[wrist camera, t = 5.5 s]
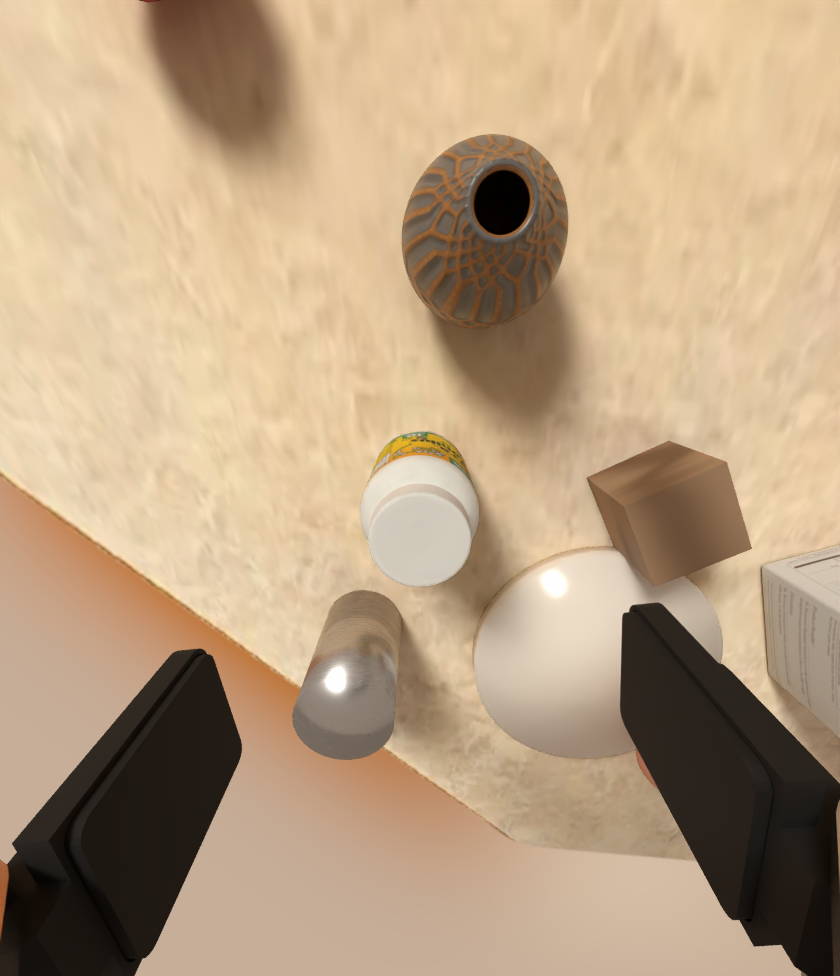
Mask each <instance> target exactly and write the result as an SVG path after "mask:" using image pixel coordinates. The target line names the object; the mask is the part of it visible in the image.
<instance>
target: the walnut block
mask: <svg viewBox="0 0 840 976" xmlns="http://www.w3.org/2000/svg"><path fill="white" fill-rule="evenodd" d="M587 480H588V482H589V485H590V487H591V490H592V492H593V495H594V497H595V500H596V502H597V505H598V507H599V510H600V513H601V515H602V518H603V520H604V523H605V525H606V528H607V530H608V533H609V535H610V538H611V540H612V543H613V545H614V547H615V548H616V549H617V550H618V551H619V552H620V553H621V554H622V555H623V556H624V557H625V558H626V559H627V560H628V561H629V562H630V563H631V564H632V565H633V566H634V567H635V568H636V569H637V570H638V571H639V572H640V573H641V574H642V575H643V576H644V577H645V578H646V579H647V580H648V581H649V583H650V584H651V585H652V586H653V587H657V586H659V585H662V584H664V583H667V582H669V581H672V580H674V579H677V578H679V577H682V576H684V575H687V574H690V573H692V572H695V571H697V570H700V569H702V568H705V567H707V566H710V565H712V564H715V563H717V562H720V561H722V560H725V559H727V558H730V557H732V556H735V555H737V554H740V553H742V552H745V551H747V550H750V549H752V548H751V544H750V541H749V537H748V534H747V530H746V527H745V523H744V520H743V517H742V513H741V510H740V506H739V503H738V499H737V496H736V492H735V489H734V486H733V482H732V479H731V475H730V472H729V468H728V465H727V462H725V461H723V460H720V459H717V458H714V457H712V456H709V455H706V454H703V453H701V452H698V451H695V450H692V449H690V448H687V447H684V446H681V445H679V444H676V443H673V442H670V441H667V442H665V443H663V444H661V445H658V446H656V447H654V448H652V449H650V450H647V451H645V452H643V453H641V454H638V455H636V456H634V457H632V458H630V459H627V460H625V461H623V462H621V463H618V464H616V465H614V466H612V467H610V468H607V469H605V470H603V471H601V472H598V473H596V474H594V475H592V476H589V477H587Z"/></svg>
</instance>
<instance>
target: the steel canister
mask: <svg viewBox="0 0 840 976" xmlns="http://www.w3.org/2000/svg"><path fill="white" fill-rule="evenodd" d="M401 626H402V622H401V616H400V613H399V611H398V609H397V607H396V606H395V605H394V603H393V602H392V601H391V600H389V599H388V598H387V597H385V596H383V595H381V594H379V593H376V592H372V591H365V590H362V591H354V592H350V593H347V594H345V595H343V596H342V597H340V598H339V599H338V600H337V601H336V602H335V603H334V604H333V605H332V607H331V609H330V611H329V614H328V617H327V619H326V622H325V625H324V627H323V630H322V633H321V636H320V638H319V641H318V644H317V647H316V649H315V652H314V655H313V657H312V660H311V663H310V666H309V668H308V671H307V674H306V677H305V679H304V682H303V685H302V687H301V690H300V693H299V696H298V698H297V701H296V704H295V707H294V710H293V725H294V728H295V731H296V733H297V735H298V736H299V738H300V739H301V740H302V741H303V743H304V744H306V745H307V746H308V747H309V748H310V749H312V750H313V751H315V752H317V753H319V754H321V755H324V756H327V757H330V758H334V759H342V760H351V759H358V758H363V757H366V756H369V755H371V754H373V753H375V752H376V751H378V750H379V749H380V748H382V747H383V746H384V745H385V744H386V742H387V741H388V740H389V738H390V736H391V734H392V731H393V726H394V714H395V702H396V689H397V676H398V664H399V651H400V638H401Z"/></svg>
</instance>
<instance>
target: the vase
mask: <svg viewBox="0 0 840 976" xmlns="http://www.w3.org/2000/svg"><path fill="white" fill-rule="evenodd" d="M567 235H568V210H567V203H566V198H565V194H564V190H563V187H562V185H561V182H560V180H559V178H558V176H557V174H556V172H555V170H554V169H553V167H552V166H551V165H550V163H549V162H548V161H547V160H546V158H545V157H544V156H543V155H542V154H541V153H540V152H539V151H537V150H536V149H535V148H533V147H532V146H530V145H529V144H527V143H525V142H523V141H521V140H519V139H516V138H513V137H510V136H505V135H497V134H489V135H481V136H476V137H472V138H469V139H466V140H464V141H462V142H459V143H457V144H455V145H454V146H452V147H450V148H449V149H448V150H446V151H445V152H443V153H442V154H441V155H440V156H439V157H438V158H437V159H435V160H434V161H433V162H432V163H431V165H430V166H429V167H428V168H427V169H426V171H425V172H424V173H423V175H422V176H421V178H420V179H419V181H418V182H417V184H416V186H415V188H414V190H413V192H412V194H411V196H410V199H409V202H408V205H407V208H406V211H405V215H404V220H403V227H402V252H403V259H404V264H405V268H406V271H407V274H408V277H409V280H410V282H411V284H412V286H413V288H414V290H415V292H416V293H417V295H418V296H419V298H420V299H421V300H422V302H423V303H424V304H425V305H426V306H427V307H428V308H429V309H430V310H431V311H432V312H433V313H435V314H436V315H437V316H439V317H440V318H442V319H444V320H446V321H448V322H450V323H452V324H455V325H458V326H462V327H467V328H487V327H493V326H497V325H500V324H503V323H506V322H508V321H510V320H512V319H514V318H516V317H518V316H519V315H521V314H523V313H524V312H525V311H527V310H528V309H529V308H530V307H532V306H533V305H534V304H535V303H536V302H537V301H538V300H539V299H540V298H541V296H542V295H543V294H544V293H545V291H546V290H547V289H548V287H549V286H550V284H551V282H552V281H553V279H554V277H555V275H556V273H557V271H558V269H559V266H560V264H561V261H562V258H563V255H564V251H565V247H566V242H567Z"/></svg>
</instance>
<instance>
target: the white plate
mask: <svg viewBox="0 0 840 976" xmlns="http://www.w3.org/2000/svg"><path fill="white" fill-rule="evenodd" d="M656 602H658V603H661V604H662V605H664V606H665V607H666V608H667V609H668V610H669V612H670V613H671V614H672V615H673V616H674V617H675V618H676V619H677V620H678V621H679V622H680V623H681V624H682V625H683V626H684V627H685V628H686V629H687V630H688V632H689V633H690V634H691V635H692V636H693V637H694V638H695V639H696V640H697V641H698V642H699V643H700V644H701V645H702V646H703V647H704V648H705V649H706V650H707V652H708V653H709V654H710V655H711V656H712V657H713V658H714V659H715V660H716V661H717V662H718V663H720V664H721V659H722V650H723V640H722V632H721V627H720V624H719V620H718V617H717V615H716V613H715V611H714V609H713V607H712V605H711V603H710V602H709V600H708V599H707V598H706V596H705V595H704V594H703V592H702V591H701V590H700V589H698V588H697V587H696V586H695V585H694V584H693V583H692V582H691V581H690V580H689V579H688V578H686V577H685V576H682V577H679V578H677V579H674V580H672V581H669V582H667V583H664V584H662V585H659V586H657V587H653V586H652V585H651V584H650V583H649V581H648V580H647V579H646V578H645V577H644V576H643V575H642V574H641V573H640V572H639V571H638V570H637V569H636V568H635V567H634V566H633V565H632V564H631V563H630V562H629V561H628V560H627V559H626V558H625V557H624V556H623V555H622V554H621V553H620V552H619V551H618V550H617V549H616V548H615V547H610V546H600V547H586V548H580V549H573V550H570V551H566V552H562V553H559V554H556V555H553V556H551V557H548V558H546V559H543V560H541V561H539V562H537V563H535V564H534V565H532V566H530V567H528V568H526V569H525V570H523V571H522V572H521V573H519V574H518V575H516V576H515V577H514V578H512V579H511V580H510V581H509V582H508V583H507V584H506V585H505V586H504V587H503V588H502V589H501V590H500V591H499V592H498V593H497V594H496V596H495V597H494V598H493V599H492V600H491V602H490V603H489V605H488V607H487V608H486V610H485V611H484V613H483V615H482V617H481V620H480V622H479V624H478V627H477V630H476V634H475V637H474V644H473V666H474V673H475V679H476V685H477V690H478V693H479V696H480V698H481V701H482V703H483V705H484V707H485V709H486V711H487V712H488V714H489V715H490V716H491V718H492V719H493V720H494V722H495V723H496V724H497V725H498V726H499V727H500V728H501V729H502V730H503V731H504V732H506V733H507V734H508V735H510V736H511V737H512V738H514V739H515V740H517V741H519V742H520V743H522V744H524V745H526V746H528V747H530V748H533V749H535V750H538V751H540V752H544V753H547V754H551V755H555V756H561V757H568V758H600V757H608V756H614V755H618V754H623V753H627V752H630V751H633V750H636V746H635V745H634V743H633V741H632V739H631V737H630V735H629V733H628V731H627V730H626V728H625V726H624V723H623V720H622V717H621V712H620V683H621V641H622V615H623V613H626V612H629V609H630V607H631V606H632V605H637V604H646V603H656Z"/></svg>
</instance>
